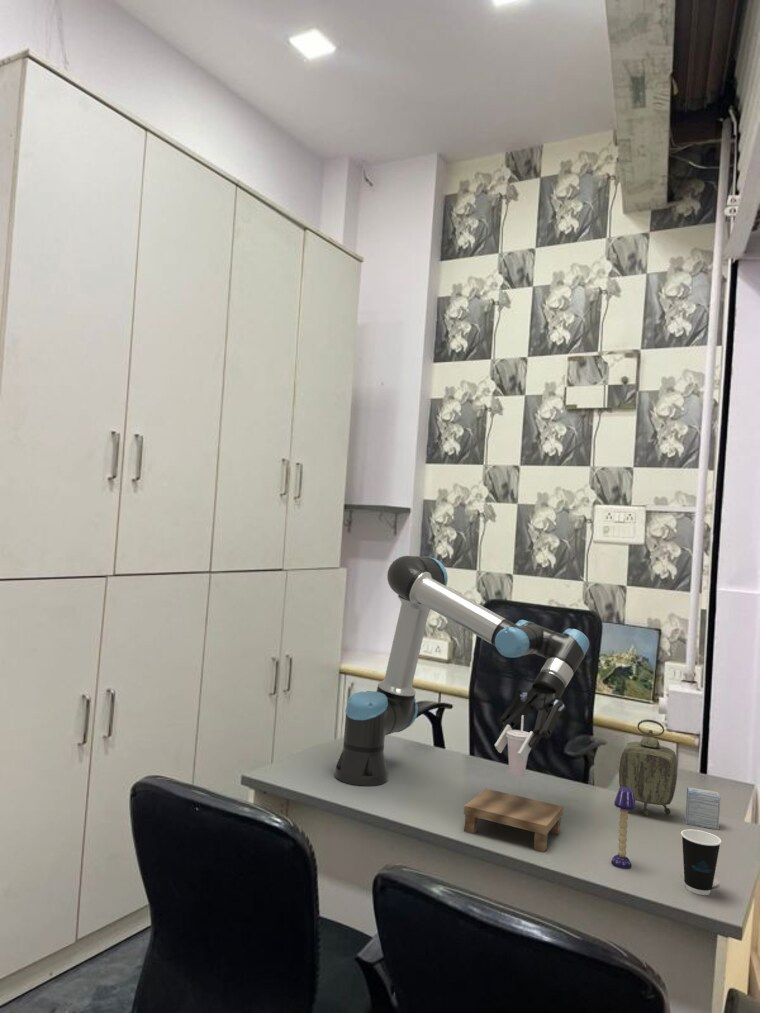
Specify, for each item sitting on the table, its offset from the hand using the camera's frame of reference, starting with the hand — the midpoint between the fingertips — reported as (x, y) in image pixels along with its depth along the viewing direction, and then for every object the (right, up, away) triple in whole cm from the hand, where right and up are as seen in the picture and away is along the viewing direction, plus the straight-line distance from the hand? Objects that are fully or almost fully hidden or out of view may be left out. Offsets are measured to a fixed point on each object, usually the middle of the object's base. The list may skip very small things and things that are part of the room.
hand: (509, 752), depth 179 cm
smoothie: (+2, -6, +2) cm, 7 cm away
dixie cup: (+36, -21, -23) cm, 47 cm away
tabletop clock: (+41, -24, +22) cm, 52 cm away
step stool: (+1, -20, +1) cm, 20 cm away
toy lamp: (+23, -21, -13) cm, 34 cm away
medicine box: (+54, -25, +17) cm, 62 cm away
